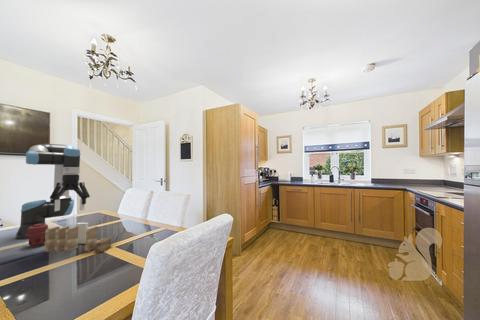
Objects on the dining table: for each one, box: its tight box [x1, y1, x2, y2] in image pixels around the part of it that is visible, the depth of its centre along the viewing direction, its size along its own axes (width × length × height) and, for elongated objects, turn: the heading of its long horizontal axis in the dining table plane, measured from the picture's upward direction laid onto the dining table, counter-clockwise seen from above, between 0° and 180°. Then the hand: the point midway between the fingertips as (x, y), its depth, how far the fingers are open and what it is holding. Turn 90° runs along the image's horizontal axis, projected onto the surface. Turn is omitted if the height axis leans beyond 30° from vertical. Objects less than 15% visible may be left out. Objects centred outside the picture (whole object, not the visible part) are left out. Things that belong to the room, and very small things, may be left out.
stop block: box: [93, 237, 112, 253], centre depth 108 cm, size 4×8×5 cm, turn 1°
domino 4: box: [75, 222, 89, 245], centre depth 118 cm, size 2×6×12 cm, turn 91°
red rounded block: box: [25, 223, 49, 249], centre depth 114 cm, size 12×10×10 cm
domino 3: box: [64, 225, 79, 253], centre depth 108 cm, size 2×6×12 cm, turn 1°
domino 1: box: [44, 226, 60, 253], centre depth 108 cm, size 2×6×12 cm, turn 1°
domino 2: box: [54, 226, 70, 253], centre depth 108 cm, size 2×6×12 cm, turn 1°
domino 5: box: [84, 225, 99, 252], centre depth 108 cm, size 2×6×12 cm, turn 1°
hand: (69, 210), depth 112 cm, fingers open, 13 cm apart
